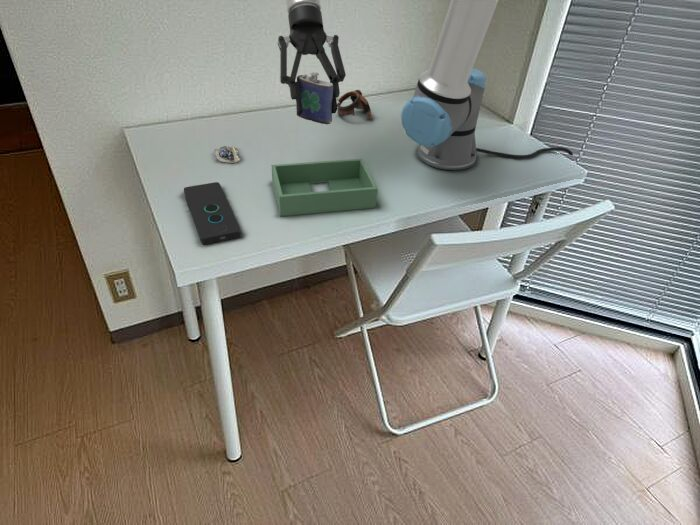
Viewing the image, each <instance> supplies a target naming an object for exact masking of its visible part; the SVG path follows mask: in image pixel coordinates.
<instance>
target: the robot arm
mask: <svg viewBox="0 0 700 525" xmlns="http://www.w3.org/2000/svg"><path fill="white" fill-rule="evenodd" d="M285 1H286V10H287V15H288V16H287V17H288V19H287V20H288V27H289V35H288V36H283V35H278V39H277V46H278V49H279V52H280V54H279V55H280V56H279V57H280V58H279V59H280V60H279V63H280V66H279V69H280V70H279V72H280V73H279V74H280V76H279V77H280V78H279V79H280V84H282V85H288V87H289V94H290V99H291V100H293V101H294V100H295V103H296V113H297V112H298V115H301V114H302V111H303V109H302V101H301V93H300V86H299V82H297V81H296V80H297V76H298V75H297V74H298V72H299V68H300V64H301V59H302V56H307V55H312V56H315V57H316V58H317V60H318V61H319V63H320V65H321V66H322V68H323V70H324V72H325V74H326V77H327V78H328V79H329V82H330V83H332V84H333V100H332V114H336V113H337V112H338V107H337V104H338V100H337V99H339V98H340V95H341V94H340V93H341V91H340V85H339V83H340V82H341V83H343V82H344V80H345V78H346V76H347V73H346V70H345V66H344V62H343V58H342V55H341V51H340V47H339V39H340V36H339V35H337V34H334V35H333V36H331V35H327V33H326V32H325V29H324V22H323V21H324V20H323V15H322V11H321V10H322V7H321V0H285ZM498 4H499V0H450V3H449V5H448V6H449V7H448V10H447V13H446V15H445V19H444V22H443V25H442V28H441V31H440V34H439V37H438V41H437V44H436V47H435V50H434V54H433V57H432V60H431V63H430V66H429V69H427V70H425V71H423V72H422V73H420V75H419V78H418V81H417V83H416V87H415V90H414V93H413V96H412V97H411V98H410V99H408V100H407V102H405V104H404V106H403V107H402V110H401V113H400V119H401V125H402V128H403V129H404V131H405V134H406V135H407V137H409V138H410V140H412V141H413V142H414V143H416V144H418V148H417V156H418V159H420V160H421V161H422V162H423V163H424V164H426V165H428V166H429V167H432V168H435V169H439V170H443V171H462V170H466V169H469V168H471V167H473V166H474V165H475V163H476V160H477V155H478V154H477V153H482V154H487V155H492V156H499V157H505V158H509V159H530V158H533V157H535V156H537V155H538V154H541V153H544V152H554V151H555V152H556V151H560V152H561V151H563V152H565V153H567V155H569V156H574V153H573V152H572V151H571V150H570V149H568V148H567V147H564V146H563V147H560V146H556V147H555V146H554V147H543V148H540V149H538V150H536V151H534V152H532V153H529V154H512V153H506V152H505V153H504V152H499V151H493V150H489V149H483V148H478V147H477V143H476V134H475V133H476V129H477V124H478V120H479V115H480V111H481V106H482V102H483V97H484V93H485V90H486V83H487V76H486V74H485V73H484V72H483V71H481V70H479V69H476V68H474V66H475V63H476V61H477V58H478V55H479V53H480V50H481V47H482V44H483V42H484V40H485V37H486V34H487V31H488V29H489V26H490V23H491V21H492V18H493V16H494V13H495V12H496V8H497V5H498ZM289 43H290V44H291V45H292V47H294V49H295V50H296V53H295V58H294V61H293V65H292V69H291V73H290V75H288V48H289ZM326 43H327V46H328V47H329V48H330V53H331V57H332V60H333V64H334V66H333V64H332V62H331V61H330V58H329V57H328V55H327V53H326V50H325V47H324V45H325V44H326Z"/></svg>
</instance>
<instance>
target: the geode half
mask: <svg viewBox="0 0 700 525" xmlns="http://www.w3.org/2000/svg"><path fill="white" fill-rule="evenodd" d="M213 151H214V152H213V153H214V155H215V159H217V161H218V162H221V163H228V164H229V163H230V164H237V163H238V162H240V160H241V158H240V156H239V153H238V152H239V150H238V149H237V148H236V147H234V146H230V147H229V146H226V145H224V146H220V147H219V148H214V150H213Z"/></svg>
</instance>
